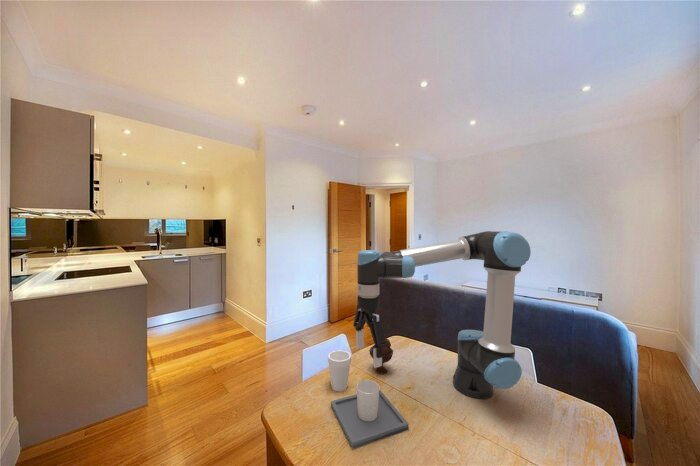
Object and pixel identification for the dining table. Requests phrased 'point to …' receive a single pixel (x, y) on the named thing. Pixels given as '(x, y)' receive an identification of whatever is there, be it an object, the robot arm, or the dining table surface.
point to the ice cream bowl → (383, 356)
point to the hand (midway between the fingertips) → (368, 356)
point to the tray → (366, 431)
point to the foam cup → (339, 369)
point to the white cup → (367, 399)
